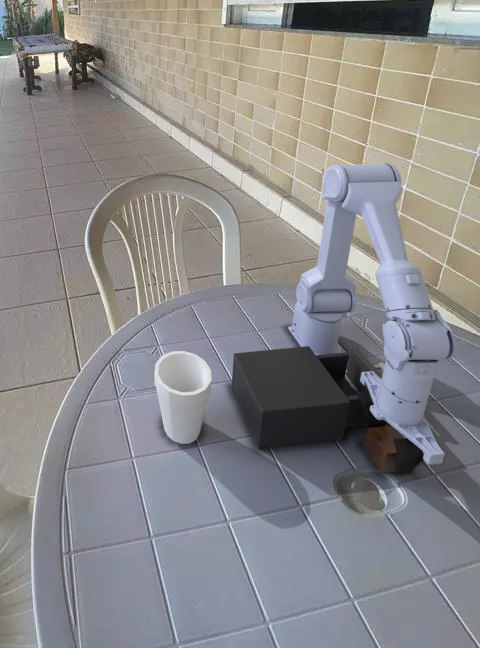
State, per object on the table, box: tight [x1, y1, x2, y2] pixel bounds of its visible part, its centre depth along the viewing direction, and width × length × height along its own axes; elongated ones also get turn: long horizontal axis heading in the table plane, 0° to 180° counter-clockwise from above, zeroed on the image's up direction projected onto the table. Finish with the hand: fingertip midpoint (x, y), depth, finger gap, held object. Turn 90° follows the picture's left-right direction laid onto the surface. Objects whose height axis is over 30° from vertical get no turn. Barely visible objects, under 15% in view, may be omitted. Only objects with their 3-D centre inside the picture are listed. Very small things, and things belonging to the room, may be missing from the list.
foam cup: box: [154, 350, 212, 445], centre depth 73 cm, size 10×9×13 cm
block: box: [362, 426, 404, 474], centre depth 67 cm, size 4×4×4 cm
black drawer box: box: [230, 346, 350, 449], centre depth 76 cm, size 15×13×9 cm
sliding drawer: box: [316, 347, 391, 428], centre depth 76 cm, size 18×11×7 cm, turn 94°
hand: (388, 451), depth 67 cm, fingers open, 6 cm apart
